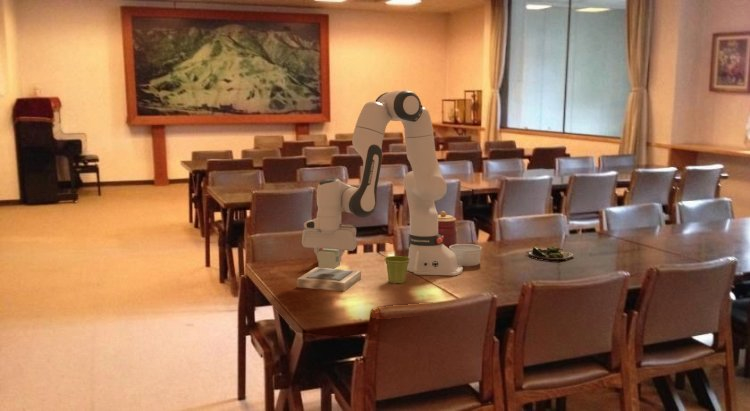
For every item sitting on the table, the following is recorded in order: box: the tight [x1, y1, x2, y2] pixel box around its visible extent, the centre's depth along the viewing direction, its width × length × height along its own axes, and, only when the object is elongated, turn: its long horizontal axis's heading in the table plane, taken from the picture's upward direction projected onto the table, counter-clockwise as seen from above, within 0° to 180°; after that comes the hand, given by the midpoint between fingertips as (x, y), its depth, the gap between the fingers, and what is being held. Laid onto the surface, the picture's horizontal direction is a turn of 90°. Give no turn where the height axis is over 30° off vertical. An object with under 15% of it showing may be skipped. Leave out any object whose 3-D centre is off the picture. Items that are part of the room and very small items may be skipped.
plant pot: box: [384, 255, 410, 284], centre depth 248 cm, size 9×9×9 cm
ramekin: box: [449, 243, 483, 267], centre depth 277 cm, size 13×13×7 cm
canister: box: [438, 210, 459, 249], centre depth 301 cm, size 13×13×18 cm
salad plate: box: [525, 246, 574, 262], centre depth 290 cm, size 19×18×5 cm
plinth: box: [296, 266, 362, 292], centre depth 247 cm, size 18×18×3 cm
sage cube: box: [317, 249, 341, 269], centre depth 246 cm, size 6×6×6 cm
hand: (329, 260), depth 246 cm, fingers closed on sage cube, 6 cm apart
